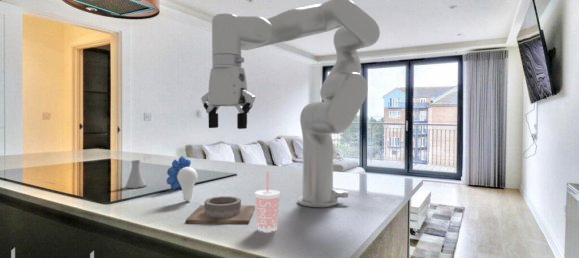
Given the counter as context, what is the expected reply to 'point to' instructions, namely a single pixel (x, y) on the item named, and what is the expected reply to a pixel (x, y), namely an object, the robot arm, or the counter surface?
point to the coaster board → (222, 211)
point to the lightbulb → (187, 181)
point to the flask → (135, 176)
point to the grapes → (176, 171)
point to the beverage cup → (267, 208)
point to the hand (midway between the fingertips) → (227, 128)
